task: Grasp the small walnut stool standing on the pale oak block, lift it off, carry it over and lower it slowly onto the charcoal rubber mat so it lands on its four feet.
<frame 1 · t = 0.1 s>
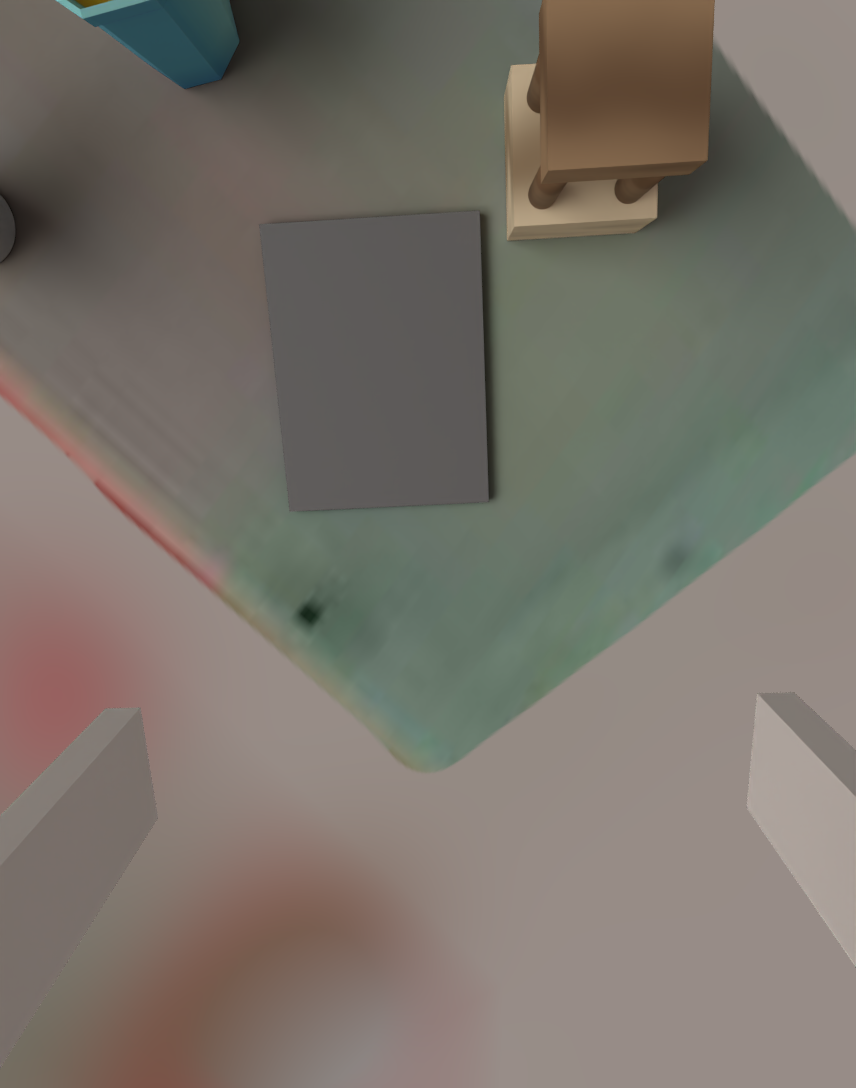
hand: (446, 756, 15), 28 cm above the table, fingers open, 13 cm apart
mat: (380, 369, 40), on the table
oak block: (570, 166, 37), on the table
stool: (585, 143, 33), point 4 cm above the table, touching oak block
cup: (203, 22, 36), on the table
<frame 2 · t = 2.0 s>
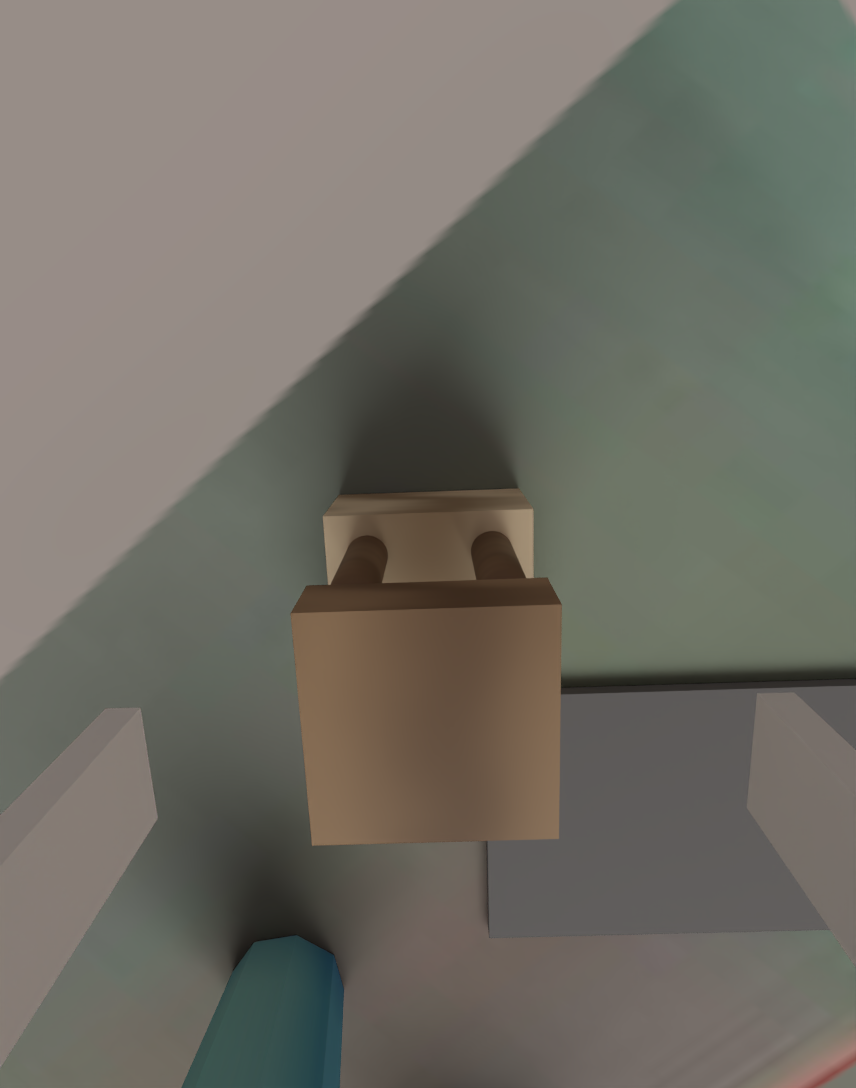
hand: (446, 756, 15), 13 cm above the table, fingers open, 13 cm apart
mat: (668, 809, 30), on the table
oak block: (431, 577, 28), on the table
stool: (431, 612, 24), point 4 cm above the table, touching oak block
cup: (278, 964, 33), on the table
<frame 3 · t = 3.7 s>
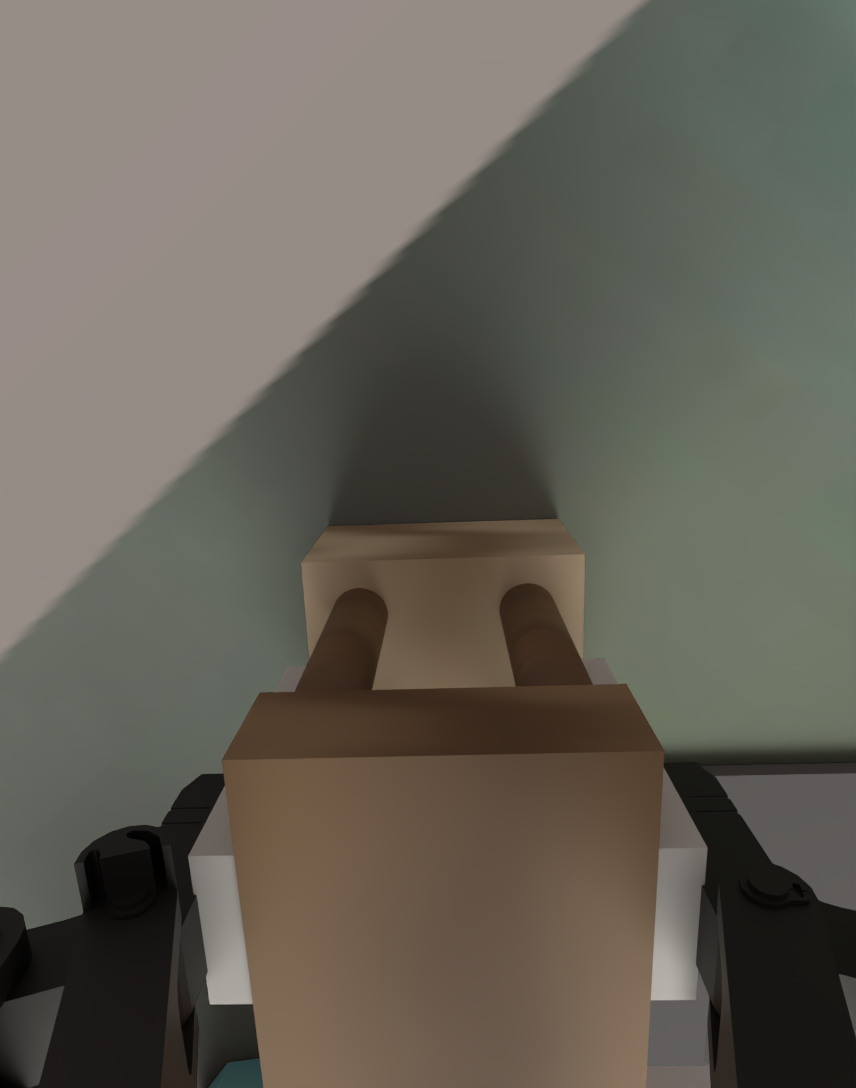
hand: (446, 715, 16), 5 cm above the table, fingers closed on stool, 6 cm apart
mat: (740, 915, 24), on the table
oak block: (446, 630, 22), on the table
stool: (446, 688, 18), point 4 cm above the table, touching gripper, oak block
cup: (257, 1086, 27), on the table
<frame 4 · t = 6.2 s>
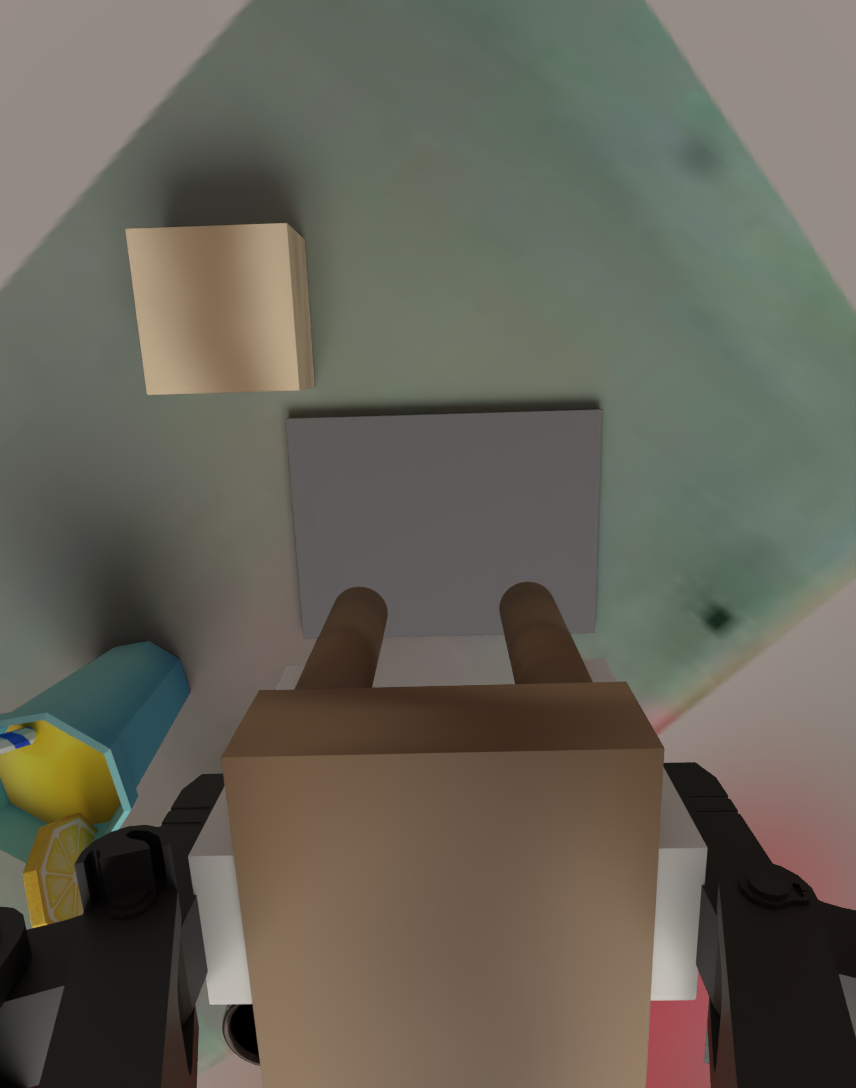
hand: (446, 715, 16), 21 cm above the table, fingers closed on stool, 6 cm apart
mat: (445, 527, 37), on the table
oak block: (240, 317, 34), on the table
stool: (445, 687, 18), point 20 cm above the table, touching gripper
grey hollow cylinder: (309, 873, 43), on the table
cup: (136, 669, 39), on the table
when the fingers open (3 cm above the table, at t = 9.0 s): stool drops 1 cm, resting on mat.
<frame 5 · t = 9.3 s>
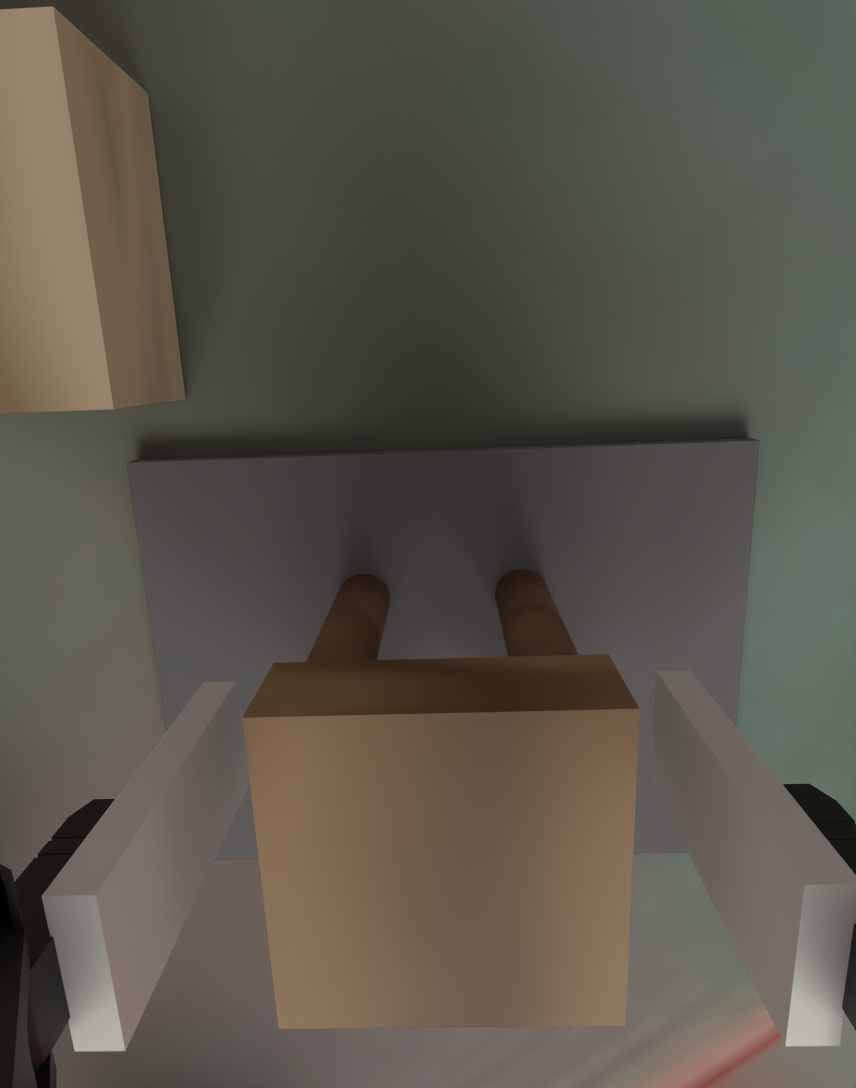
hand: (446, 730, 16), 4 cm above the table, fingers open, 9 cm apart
mat: (445, 661, 19), on the table
oak block: (28, 260, 17), on the table
stool: (444, 669, 19), point 1 cm above the table, touching mat
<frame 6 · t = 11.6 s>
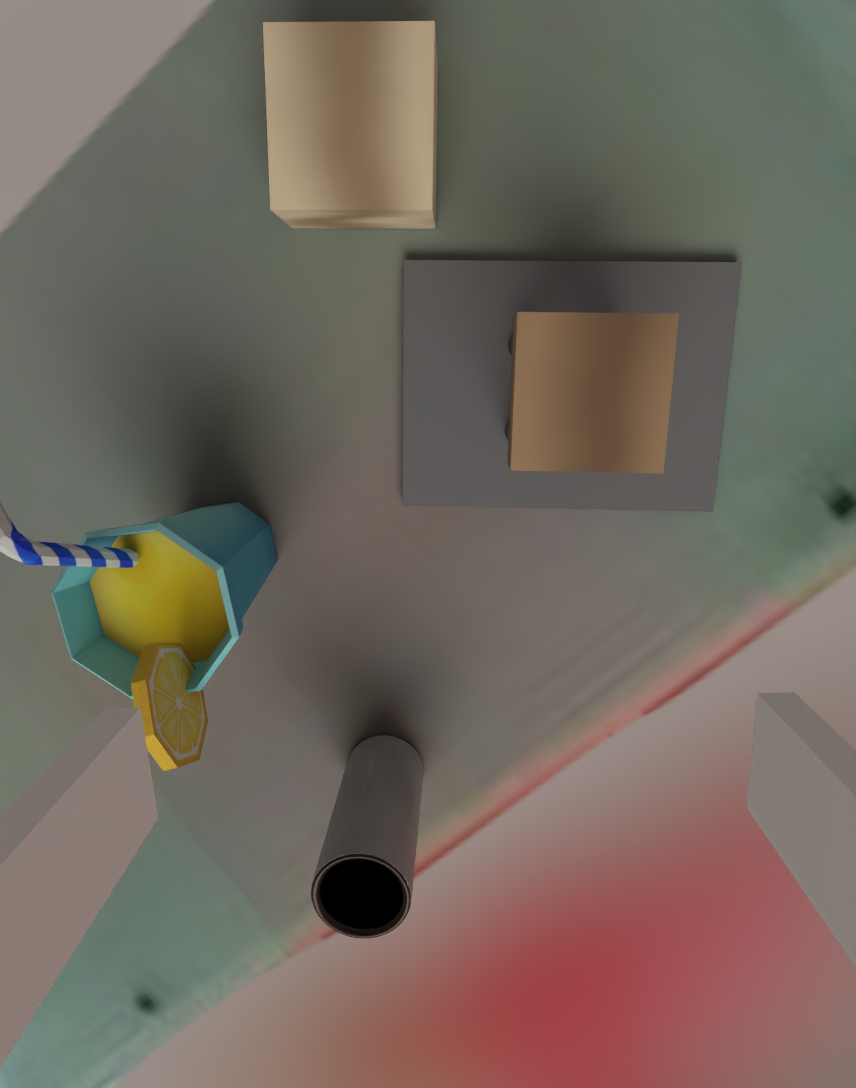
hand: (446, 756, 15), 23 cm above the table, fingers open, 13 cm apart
mat: (561, 389, 35), on the table
oak block: (363, 148, 33), on the table
stool: (562, 389, 34), point 1 cm above the table, touching mat
grey hollow cylinder: (385, 766, 41), on the table
cup: (222, 533, 38), on the table
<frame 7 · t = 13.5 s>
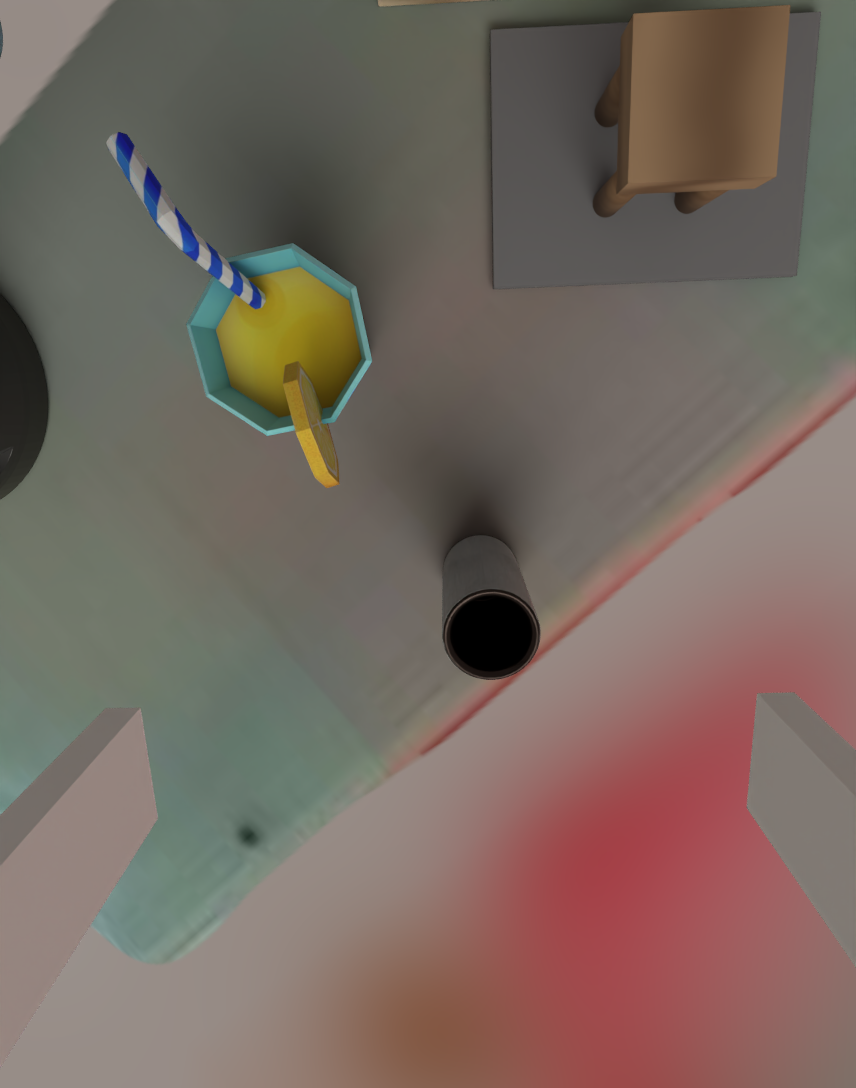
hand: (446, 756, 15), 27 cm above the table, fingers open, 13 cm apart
mat: (645, 160, 36), on the table
stool: (648, 156, 35), point 1 cm above the table, touching mat
grey hollow cylinder: (479, 569, 42), on the table
cup: (314, 335, 38), on the table
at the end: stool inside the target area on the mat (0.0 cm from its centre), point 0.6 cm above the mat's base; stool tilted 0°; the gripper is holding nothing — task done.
